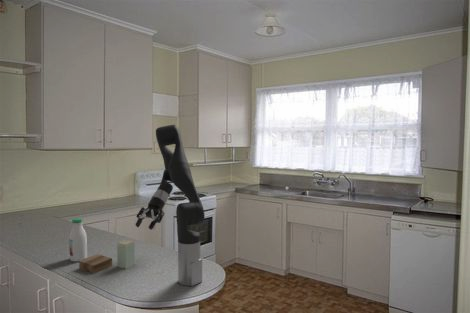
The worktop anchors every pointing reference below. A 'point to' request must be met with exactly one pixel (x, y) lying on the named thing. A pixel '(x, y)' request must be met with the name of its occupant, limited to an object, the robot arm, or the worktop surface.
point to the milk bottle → (78, 241)
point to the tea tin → (125, 254)
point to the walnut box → (95, 263)
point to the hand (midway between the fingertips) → (143, 227)
